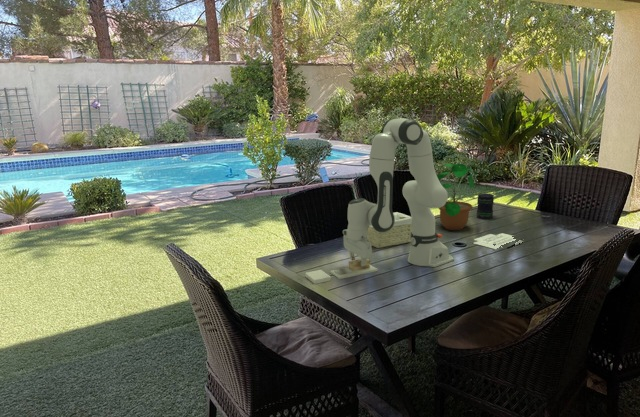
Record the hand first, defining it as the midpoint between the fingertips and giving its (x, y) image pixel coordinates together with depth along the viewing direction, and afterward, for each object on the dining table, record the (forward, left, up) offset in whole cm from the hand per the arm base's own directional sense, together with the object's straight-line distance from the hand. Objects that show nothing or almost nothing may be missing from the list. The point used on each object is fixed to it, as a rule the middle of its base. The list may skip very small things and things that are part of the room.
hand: (357, 262), depth 217 cm
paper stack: (-89, -1, -5) cm, 89 cm away
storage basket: (-36, -30, -4) cm, 47 cm away
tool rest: (+2, 0, -4) cm, 5 cm away
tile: (+16, -1, -3) cm, 16 cm away
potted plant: (-83, -35, -4) cm, 90 cm away
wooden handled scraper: (+2, 0, -3) cm, 4 cm away
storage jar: (-119, -42, -4) cm, 126 cm away
